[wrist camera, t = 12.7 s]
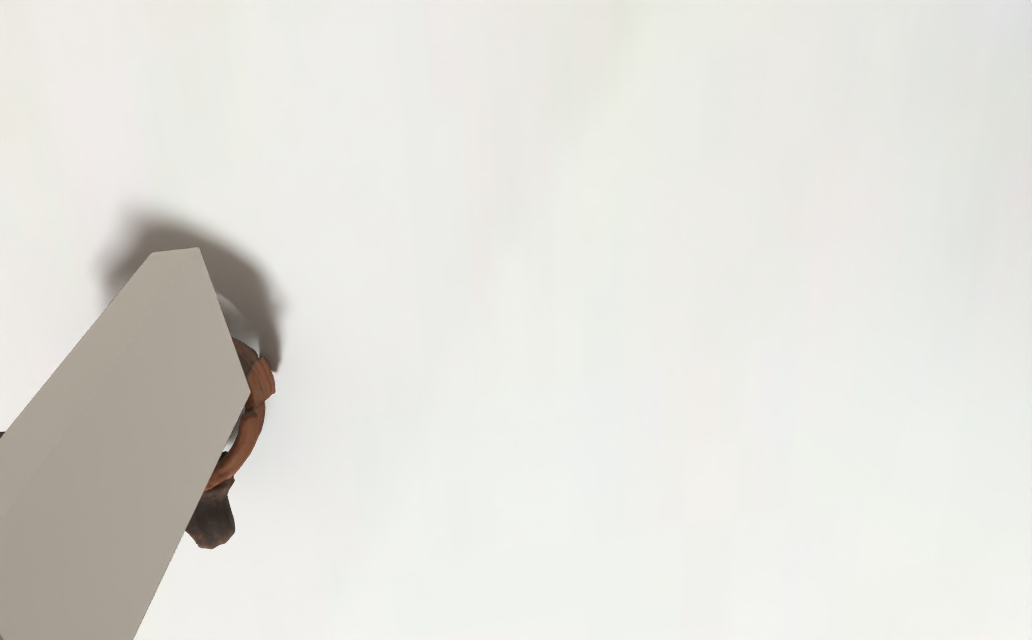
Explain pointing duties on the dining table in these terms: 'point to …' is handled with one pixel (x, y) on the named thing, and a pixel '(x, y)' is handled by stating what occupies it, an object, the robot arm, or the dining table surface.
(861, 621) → the dining table surface
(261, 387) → the brown openwork arched shell
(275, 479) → the dining table surface
